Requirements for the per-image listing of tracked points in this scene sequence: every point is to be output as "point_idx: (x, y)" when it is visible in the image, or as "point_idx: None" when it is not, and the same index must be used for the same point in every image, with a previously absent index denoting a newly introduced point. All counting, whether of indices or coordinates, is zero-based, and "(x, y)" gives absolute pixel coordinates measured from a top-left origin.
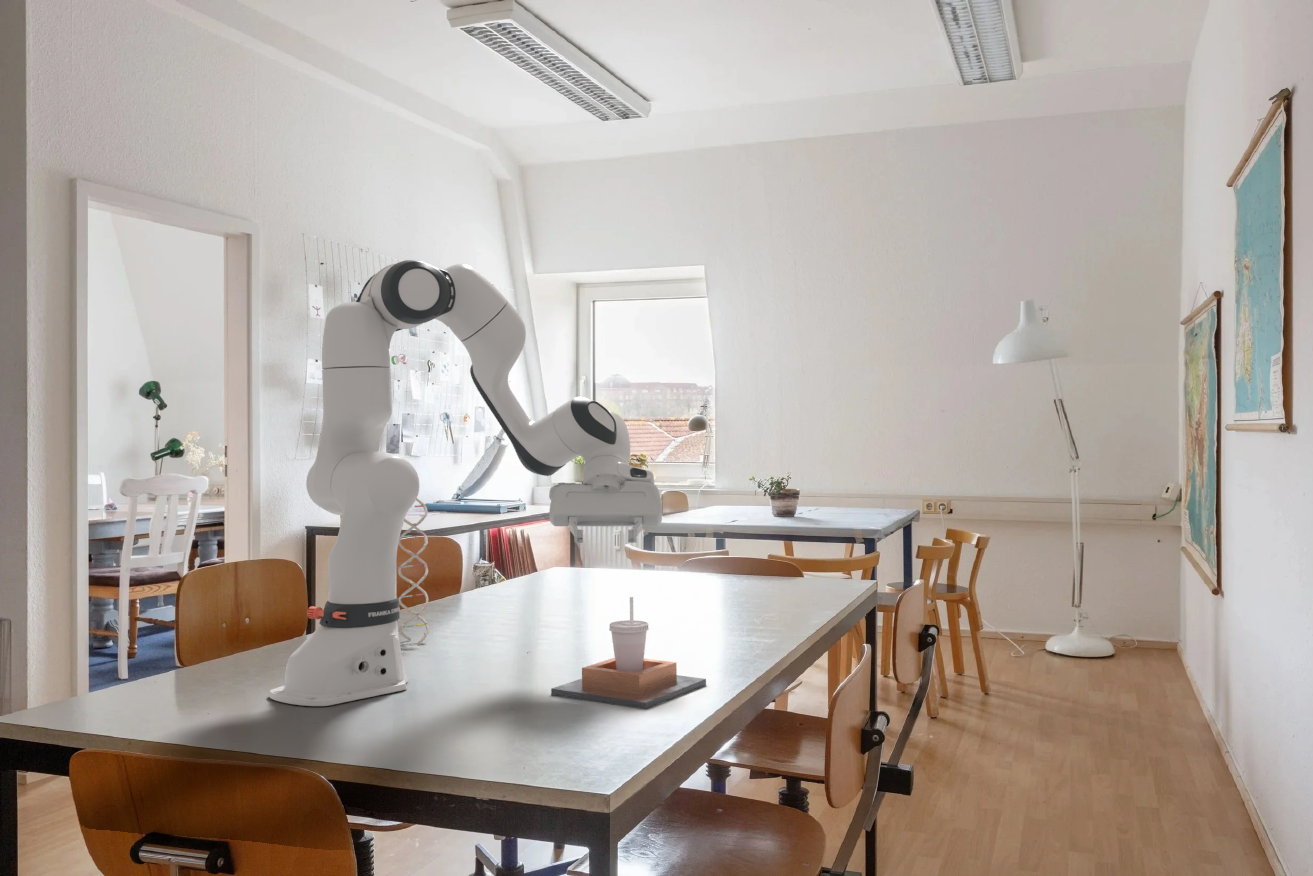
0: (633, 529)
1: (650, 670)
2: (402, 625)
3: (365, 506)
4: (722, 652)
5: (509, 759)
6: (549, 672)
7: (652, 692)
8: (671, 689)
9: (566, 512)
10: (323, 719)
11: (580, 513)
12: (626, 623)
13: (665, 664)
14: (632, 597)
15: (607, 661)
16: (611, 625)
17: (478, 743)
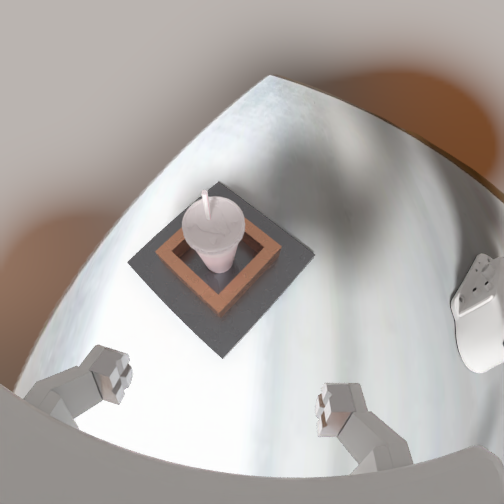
0: (89, 369)
1: None
2: None
3: None
4: None
5: (325, 113)
6: (315, 382)
7: None
8: (179, 222)
9: (440, 462)
10: (464, 221)
11: (368, 475)
12: (218, 214)
13: (171, 242)
14: (203, 190)
15: (244, 277)
16: (242, 213)
17: (351, 140)
